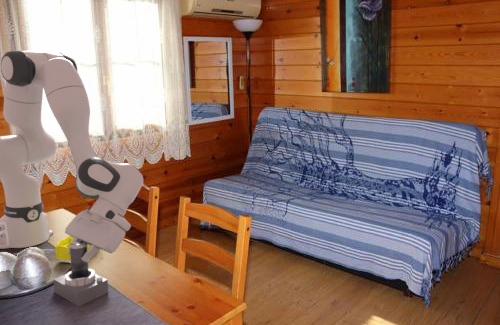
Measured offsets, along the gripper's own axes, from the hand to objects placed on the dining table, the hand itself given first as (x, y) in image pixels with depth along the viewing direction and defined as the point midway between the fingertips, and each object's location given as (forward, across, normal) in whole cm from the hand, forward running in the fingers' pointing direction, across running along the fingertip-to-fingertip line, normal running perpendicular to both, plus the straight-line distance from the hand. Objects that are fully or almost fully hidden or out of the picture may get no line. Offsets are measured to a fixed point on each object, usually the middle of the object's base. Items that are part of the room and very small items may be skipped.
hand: (76, 257), depth 113 cm
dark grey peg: (+3, 0, +4) cm, 5 cm away
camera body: (+7, 0, +8) cm, 11 cm away
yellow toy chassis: (-2, -23, +18) cm, 29 cm away
